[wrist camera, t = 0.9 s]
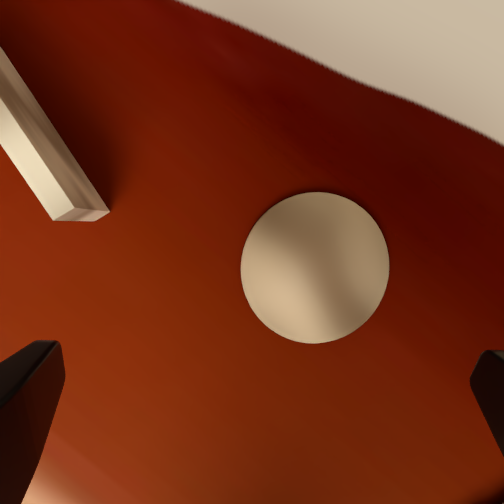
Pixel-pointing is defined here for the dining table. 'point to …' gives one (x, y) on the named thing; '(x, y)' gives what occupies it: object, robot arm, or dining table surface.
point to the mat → (314, 267)
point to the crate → (43, 153)
